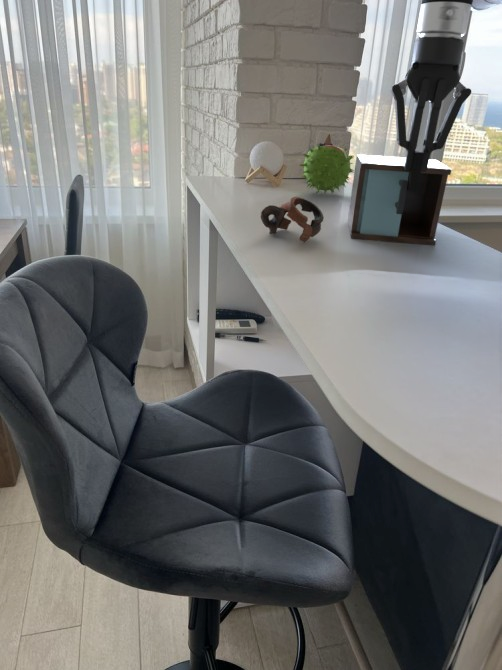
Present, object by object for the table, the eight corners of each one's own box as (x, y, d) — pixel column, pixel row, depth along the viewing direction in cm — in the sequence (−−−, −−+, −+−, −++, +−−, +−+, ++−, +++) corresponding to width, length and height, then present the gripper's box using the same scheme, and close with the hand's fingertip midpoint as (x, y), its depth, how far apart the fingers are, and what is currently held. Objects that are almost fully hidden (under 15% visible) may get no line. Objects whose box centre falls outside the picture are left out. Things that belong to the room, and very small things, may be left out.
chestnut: (282, 158, 132) (307, 141, 142) (300, 209, 138) (323, 189, 148) (332, 141, 123) (355, 124, 133) (349, 196, 128) (371, 177, 138)
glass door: (397, 236, 98) (409, 170, 92) (400, 242, 94) (413, 173, 89) (359, 233, 99) (369, 167, 93) (361, 239, 95) (371, 170, 89)
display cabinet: (422, 227, 109) (436, 159, 103) (435, 245, 97) (451, 169, 90) (347, 221, 110) (356, 154, 104) (350, 238, 98) (361, 163, 92)
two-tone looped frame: (295, 229, 104) (317, 197, 99) (311, 261, 99) (335, 230, 93) (246, 218, 97) (266, 183, 92) (260, 251, 92) (282, 217, 87)
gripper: (401, 33, 77) (376, 191, 87) (489, 37, 76) (453, 196, 86) (394, 37, 84) (372, 183, 94) (475, 41, 83) (444, 189, 93)
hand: (411, 189), depth 90 cm, fingers closed
